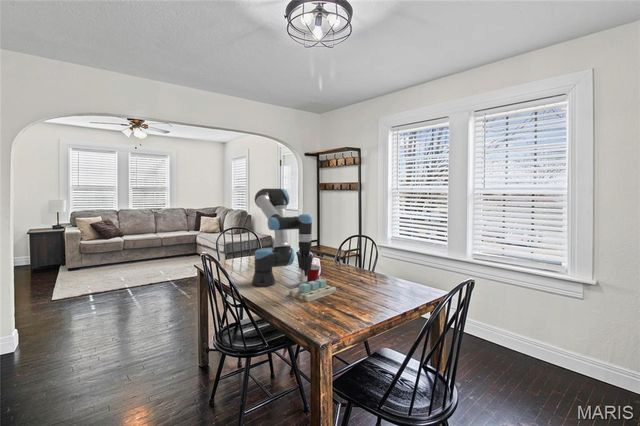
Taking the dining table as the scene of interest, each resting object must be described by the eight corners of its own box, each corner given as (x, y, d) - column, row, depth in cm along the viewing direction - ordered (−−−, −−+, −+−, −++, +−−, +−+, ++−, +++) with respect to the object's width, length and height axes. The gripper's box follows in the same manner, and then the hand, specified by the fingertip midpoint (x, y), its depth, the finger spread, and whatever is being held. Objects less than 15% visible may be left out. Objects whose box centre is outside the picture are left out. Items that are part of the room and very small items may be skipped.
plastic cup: (314, 287, 206) (314, 268, 205) (300, 284, 212) (301, 266, 212) (323, 283, 215) (323, 265, 214) (310, 280, 221) (310, 263, 220)
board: (289, 295, 189) (289, 290, 189) (316, 286, 207) (316, 282, 206) (308, 301, 178) (308, 296, 178) (335, 292, 196) (335, 287, 196)
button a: (298, 291, 187) (298, 284, 187) (304, 289, 191) (304, 283, 190) (304, 293, 184) (304, 286, 184) (310, 291, 187) (310, 284, 187)
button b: (307, 288, 192) (307, 282, 192) (312, 287, 196) (312, 280, 195) (313, 290, 189) (313, 284, 189) (318, 288, 192) (318, 282, 192)
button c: (315, 286, 197) (315, 280, 197) (320, 284, 201) (320, 278, 201) (321, 288, 194) (321, 281, 194) (326, 286, 198) (326, 280, 197)
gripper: (292, 240, 187) (292, 280, 188) (308, 242, 178) (308, 284, 180) (301, 239, 192) (301, 277, 194) (317, 241, 184) (317, 281, 185)
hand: (304, 281), depth 187 cm, fingers closed
